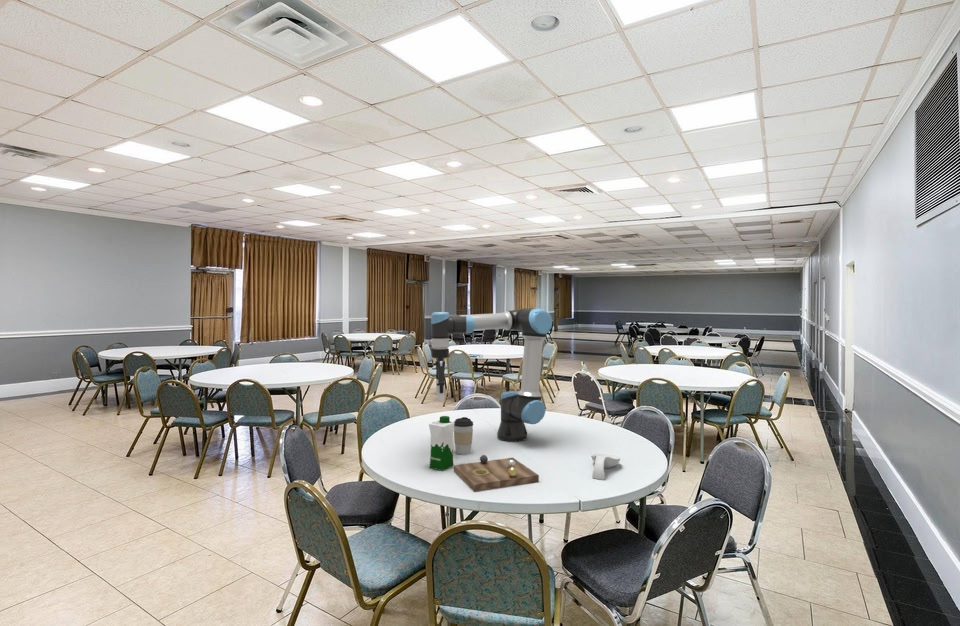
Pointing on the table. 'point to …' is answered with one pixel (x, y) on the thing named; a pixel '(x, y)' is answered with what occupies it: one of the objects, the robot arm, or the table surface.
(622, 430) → the table surface
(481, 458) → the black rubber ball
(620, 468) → the table surface
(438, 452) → the milk carton
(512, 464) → the steel ball
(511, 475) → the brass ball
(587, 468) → the table surface
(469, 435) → the coffee cup
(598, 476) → the white curved piece
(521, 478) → the board
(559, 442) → the table surface
